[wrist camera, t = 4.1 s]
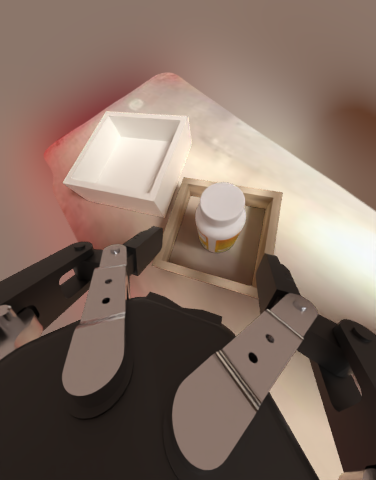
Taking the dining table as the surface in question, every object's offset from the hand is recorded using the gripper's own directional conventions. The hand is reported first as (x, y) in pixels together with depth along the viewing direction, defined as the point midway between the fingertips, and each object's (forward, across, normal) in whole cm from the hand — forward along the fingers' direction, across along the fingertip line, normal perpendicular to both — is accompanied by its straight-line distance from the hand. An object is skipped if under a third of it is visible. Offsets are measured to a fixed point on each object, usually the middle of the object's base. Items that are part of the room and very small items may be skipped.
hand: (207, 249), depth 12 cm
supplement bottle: (+10, 0, +4) cm, 11 cm away
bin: (+17, +17, -3) cm, 24 cm away
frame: (+10, 0, +4) cm, 11 cm away
